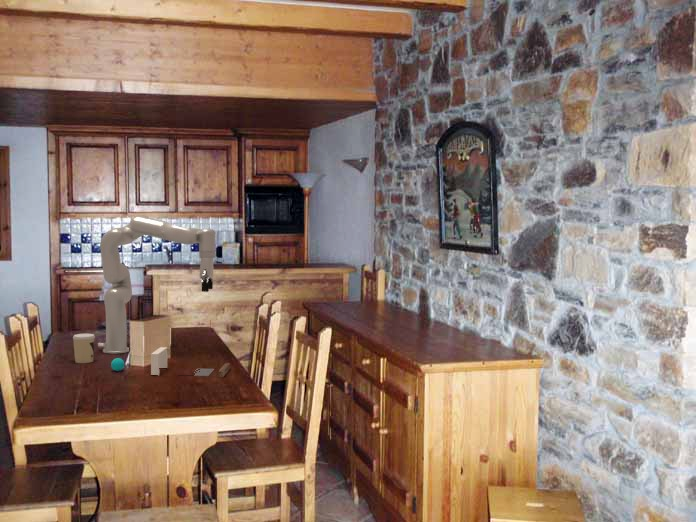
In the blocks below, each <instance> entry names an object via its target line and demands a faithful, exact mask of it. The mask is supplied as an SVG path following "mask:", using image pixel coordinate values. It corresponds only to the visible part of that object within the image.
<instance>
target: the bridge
mask: <svg viewBox="0 0 696 522" xmlns="http://www.w3.org/2000/svg"><path fill="white" fill-rule="evenodd" d="M159 368H167V369H168V347H167V346H166V347H163V346H160V347H159V348H157V349H155V351H153V352H152V353H151V354H150V376H151V375H158V376H160V369H159Z"/></svg>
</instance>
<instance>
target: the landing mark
mask: <svg viewBox="0 0 696 522" xmlns="http://www.w3.org/2000/svg"><path fill="white" fill-rule="evenodd" d="M198 369H200V370H198ZM196 370H198V371H196ZM196 370H195V371H196V372H197V373H195V372H194V373H195V375H194V376H193V377H209V376H210V375H211V373H213V372H214V371H215V368H197V369H196ZM199 371H200V372H199Z"/></svg>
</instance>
